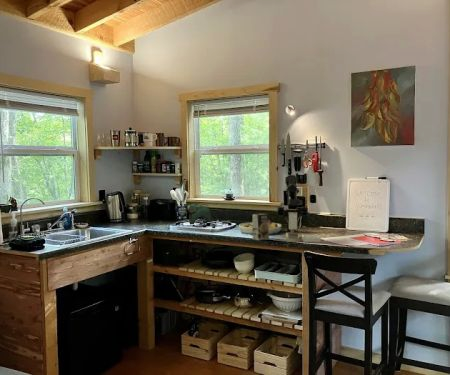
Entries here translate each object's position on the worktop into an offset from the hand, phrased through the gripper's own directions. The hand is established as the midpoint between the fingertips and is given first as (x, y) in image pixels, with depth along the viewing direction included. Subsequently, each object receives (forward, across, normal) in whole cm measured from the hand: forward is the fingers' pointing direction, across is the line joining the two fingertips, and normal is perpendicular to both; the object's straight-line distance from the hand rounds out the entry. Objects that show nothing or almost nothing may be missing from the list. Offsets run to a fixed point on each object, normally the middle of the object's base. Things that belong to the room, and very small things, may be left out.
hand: (292, 221), depth 260 cm
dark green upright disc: (-33, -70, +50) cm, 93 cm away
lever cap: (+2, 0, +4) cm, 5 cm away
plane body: (+5, 0, +12) cm, 13 cm away
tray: (+7, +11, +10) cm, 17 cm away
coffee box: (+5, -20, +12) cm, 24 cm away
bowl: (-14, -22, +32) cm, 41 cm away
